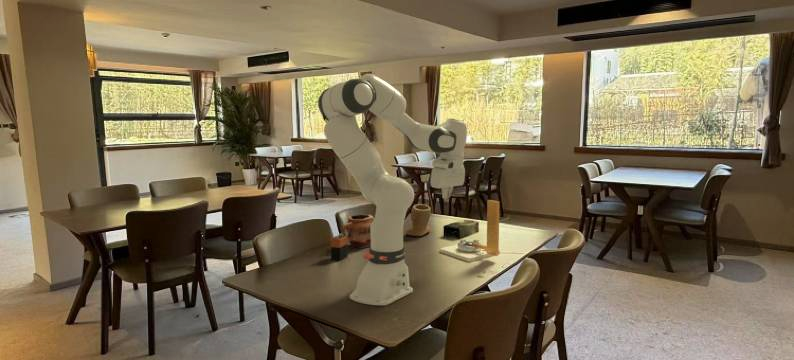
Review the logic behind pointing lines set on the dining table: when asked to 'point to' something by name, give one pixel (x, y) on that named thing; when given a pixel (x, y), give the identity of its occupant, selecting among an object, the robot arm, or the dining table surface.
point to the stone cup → (419, 220)
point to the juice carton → (461, 228)
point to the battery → (339, 247)
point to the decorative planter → (358, 230)
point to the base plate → (465, 253)
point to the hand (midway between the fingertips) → (445, 197)
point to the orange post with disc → (491, 233)
